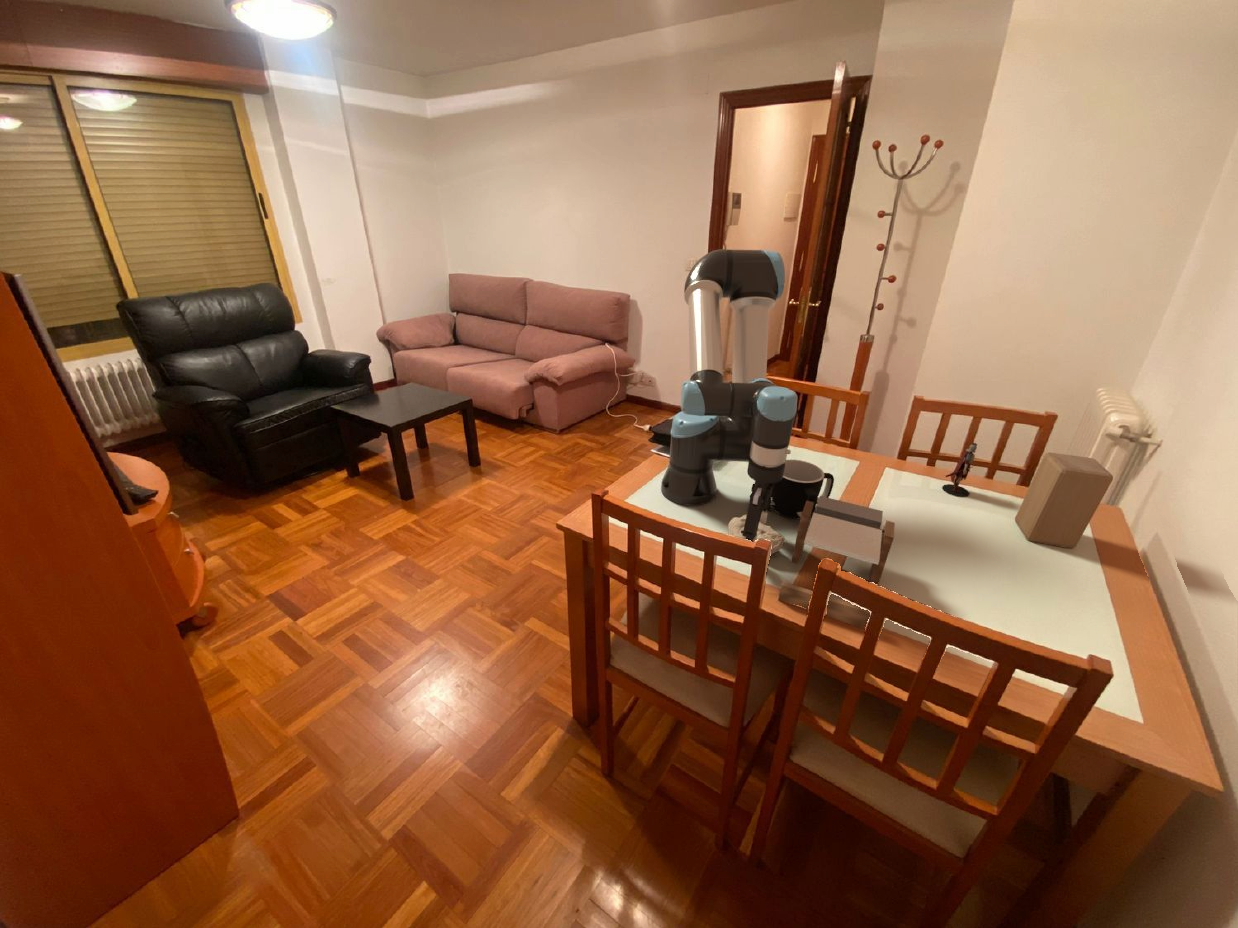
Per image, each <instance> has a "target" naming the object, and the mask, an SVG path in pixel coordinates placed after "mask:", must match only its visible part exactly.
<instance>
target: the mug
mask: <svg viewBox="0 0 1238 928" xmlns="http://www.w3.org/2000/svg"><path fill="white" fill-rule="evenodd" d="M825 479H826V482H825V485H824V489H823V491H822V493H821V495H820V492H821V490H822V486H823V484H824V480H825ZM834 483H835V477H834V476H833V474H832V473H830V472H824V471H823V469H822V468H820V467H819V466H817V465H816V464H814V463H812V462H809V461H805V460H801V459H800V460H799V459H786V461H785V469H784V474H783V478H782V480H781V481H779V482H777V483H774V486H773V490H772V497H771V504H770V505H769V507H772V509H773V510H774V511H775V512H776V513H777V514H779V515H781V516H783V517H785V518H789V519H799V521H800V520H801V515H802V512H803V509H804V506H805V504H806V501H810V502H814V505H813V509H812V512H815V511H816V507H817V504H818V500H819V497H820V496H823V497H827V498H830V496H831V493H832V491H833V488H834ZM812 516H813V515H812V514H811V518H810V521H811V519H812Z"/></svg>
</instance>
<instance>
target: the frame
mask: <svg viewBox="0 0 1238 928" xmlns="http://www.w3.org/2000/svg"><path fill="white" fill-rule="evenodd" d="M813 505H814V502H810V501H806V504H805V506H804V509H803V512H802V515H801V520H800V519H799V525H798V529H797V534H796V538H795V542H794V547H793V552H792V556H791V561H790V563H792V564H796V565H799V563H800V561H801V558H802V553H803V551H804V547H805V544H804V541H805V538H806V535H807V532H808V528H809V525H810V522H811V520H810V518H811V514H812V515H813V513H815V512H812V509H813ZM817 514H819V513H817ZM821 515H823V514H821ZM825 516H827V515H825ZM828 517H831V516H828ZM832 518H835V517H832ZM811 519H812V518H811ZM836 519H839V518H836ZM840 520H842V519H840ZM844 521H846V520H844ZM848 522H850V521H848ZM852 523H854V522H852ZM856 524H858V523H856ZM860 525H862V524H860ZM863 526H866V525H863ZM867 527H870V526H867ZM871 528H874V527H871ZM875 529H878V528H875ZM879 530H882V537H881V548H880V559H879V563H878V565H877V564H873V563H871V567H870V572H869V578H870V579H868V582H869V581H870V582H874V583H875V584H878V585H879V583H880V580H881V577H882V574H883V571H884V569H885V565H886V562H887V559H888V556H889V554H890V551H891V548H892V545H893V542H894V539H895V538H894V537H895V522H894V521H890V520H885V522H884V526H883V529H881V528H880V529H879ZM813 591H814V590H811V589H808V588H805V587H802V586H798V585H795V584H792V583H789V582H786V581H782V582H781V586H780V590H779V595H778V599H777V601H779V602H782V601H783V603H785V602H787V603H786V604H788V603H791V604H795V605H799V606H802V607H804V608H806V609H805V610H806V611H809V610H808V606H809V601H810V599H811V596H812V592H813ZM851 603H852V602H848V601H845V600H842V599H840V598H837V597H833V596H830V597H829V601H828V605H827V614H826V616H825V617H828V618H831V619H833V620H837V621H840V622H843V623H845V624H849V625H852V626H853V627H858V628H861V629H863V630H866V629H865V627H866V624H867V621H868V619H869V617H870V612H869V611H868V610H864V609H861V608H860V607H858V606H856V605H857V604H856V605H852V604H853V603H852V604H851ZM791 604H790V605H791Z"/></svg>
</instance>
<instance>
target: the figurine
mask: <svg viewBox="0 0 1238 928" xmlns="http://www.w3.org/2000/svg"><path fill="white" fill-rule="evenodd" d="M977 446H978V444H977V443H975V442H972V443H971V444H970V445H969V447H968V448H966V449H965V450H964V451H963V452H962V457H961V459H960V461H959V463H958V464H957V466H956V467H955V469H954V470H953V472H951V473H949V474H947V475H945V478H948V477H950V478H951V479H950V481H951V482H952V484H950V483H948V484H944V485H942V487H941V488H942V490H943V492H944V493H947V494H949V495H952V496H955V497H958V498H959V497H960V498H965V497H966V498H967V497H969V496H970V491H969V490H968V489H966V488H965V487H963V486H959V485H960V482H962V481H963V480H965V481H966V479H967V477H968V474H969V472H971V471H970V470H971V469H972V468H974V466H973V465H972V466H971V464H972V463H973V461H975V460H974V459H975V456H976V455H975V454H974V453H976V450H977Z"/></svg>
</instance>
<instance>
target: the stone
mask: <svg viewBox="0 0 1238 928" xmlns="http://www.w3.org/2000/svg"><path fill="white" fill-rule="evenodd" d="M746 516H747V514H744V515H742V516H741V517H732V518H731V520H730V521H729V523H728V525H727V526H728V529H727V530H728V535H729V534H730V535H732V536H734V537H738V538H742V539H744V536H743V535H742V533H741V531H742V530H744V525H745V521H746ZM757 534H758V535H757V539H767V540H770V541H771V543H772V549H771V555H773V554H774V553H777V552H779V550H780V549H781V548H782V547H783V545H784V542H785V540H786V538H785V536H783V535H781V533H780V532H778V531H776V530H774V529H773V528H772V526H770V525H767V524H766V525H763V524H762V523H761V522H759V526H758V530H757Z"/></svg>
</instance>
